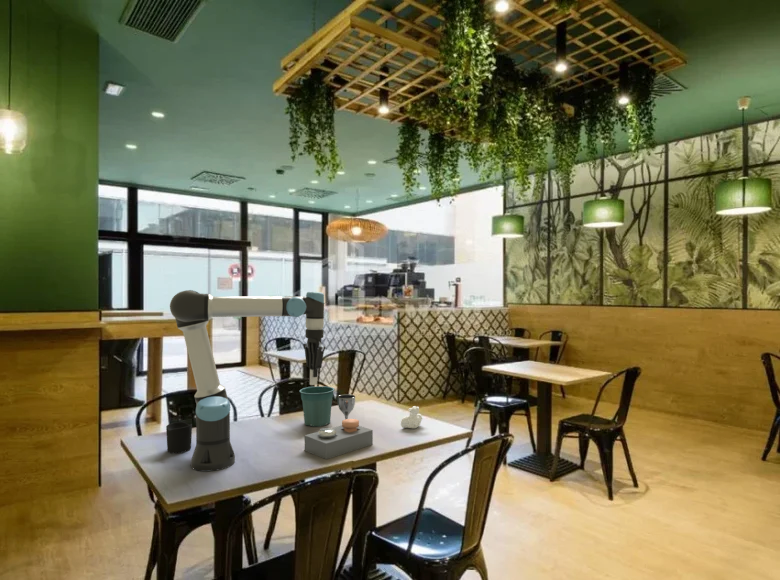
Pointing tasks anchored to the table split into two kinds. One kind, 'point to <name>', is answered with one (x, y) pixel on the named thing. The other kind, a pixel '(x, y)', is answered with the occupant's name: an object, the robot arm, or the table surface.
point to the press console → (338, 442)
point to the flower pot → (317, 405)
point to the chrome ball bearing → (327, 433)
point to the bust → (412, 418)
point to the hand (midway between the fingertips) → (313, 384)
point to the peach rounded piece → (350, 425)
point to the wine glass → (346, 404)
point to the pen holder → (179, 437)
